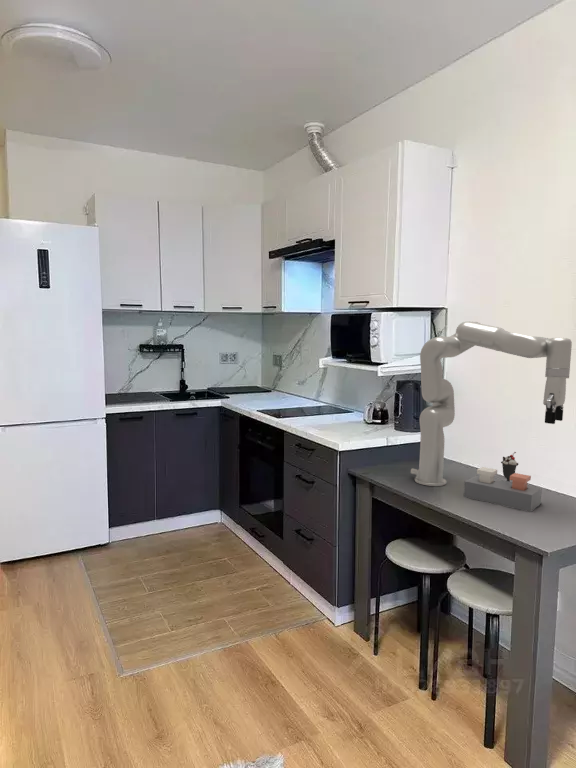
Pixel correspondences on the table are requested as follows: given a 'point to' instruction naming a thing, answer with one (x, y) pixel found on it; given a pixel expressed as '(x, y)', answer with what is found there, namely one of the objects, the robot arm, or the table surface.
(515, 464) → the sundae
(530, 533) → the table surface
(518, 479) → the pink block
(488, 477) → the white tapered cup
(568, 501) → the table surface
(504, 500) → the block
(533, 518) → the table surface
